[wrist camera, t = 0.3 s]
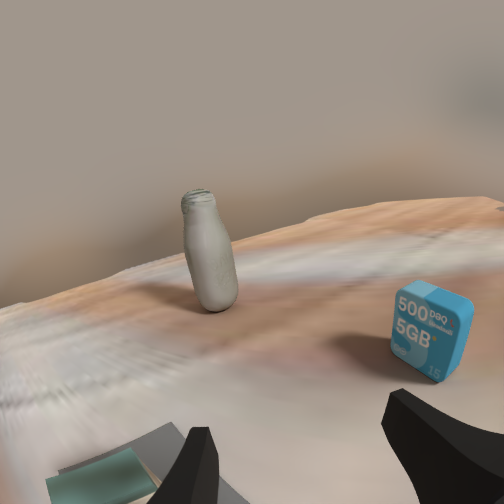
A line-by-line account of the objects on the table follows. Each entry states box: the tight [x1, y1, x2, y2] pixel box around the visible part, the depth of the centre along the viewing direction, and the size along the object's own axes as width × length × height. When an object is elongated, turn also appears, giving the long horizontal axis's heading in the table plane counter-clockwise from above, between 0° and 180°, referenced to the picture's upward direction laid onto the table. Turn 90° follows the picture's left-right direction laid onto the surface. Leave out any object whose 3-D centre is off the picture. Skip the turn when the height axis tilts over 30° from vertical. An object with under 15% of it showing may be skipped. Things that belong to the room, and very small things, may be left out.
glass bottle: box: [181, 189, 238, 311], centre depth 60 cm, size 10×10×28 cm
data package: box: [391, 280, 474, 382], centre depth 31 cm, size 12×4×12 cm, turn 21°
